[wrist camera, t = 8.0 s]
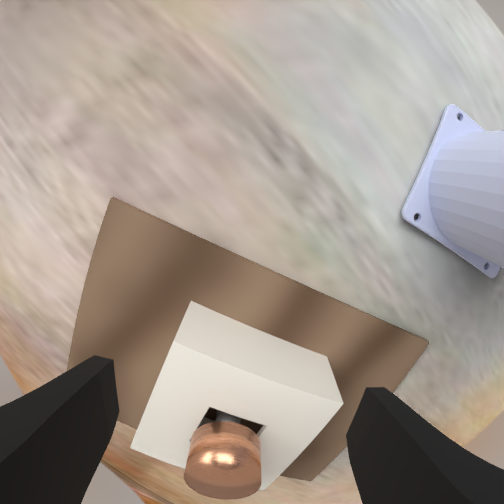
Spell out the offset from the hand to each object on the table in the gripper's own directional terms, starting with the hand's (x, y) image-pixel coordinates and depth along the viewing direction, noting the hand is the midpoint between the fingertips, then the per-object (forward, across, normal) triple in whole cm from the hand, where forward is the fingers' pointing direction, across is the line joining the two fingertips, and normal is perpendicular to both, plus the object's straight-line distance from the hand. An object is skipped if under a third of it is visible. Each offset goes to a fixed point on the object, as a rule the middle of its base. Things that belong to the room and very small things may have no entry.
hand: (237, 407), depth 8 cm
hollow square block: (+10, 0, +7) cm, 13 cm away
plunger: (+9, 0, +7) cm, 12 cm away
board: (+10, 0, +7) cm, 13 cm away
